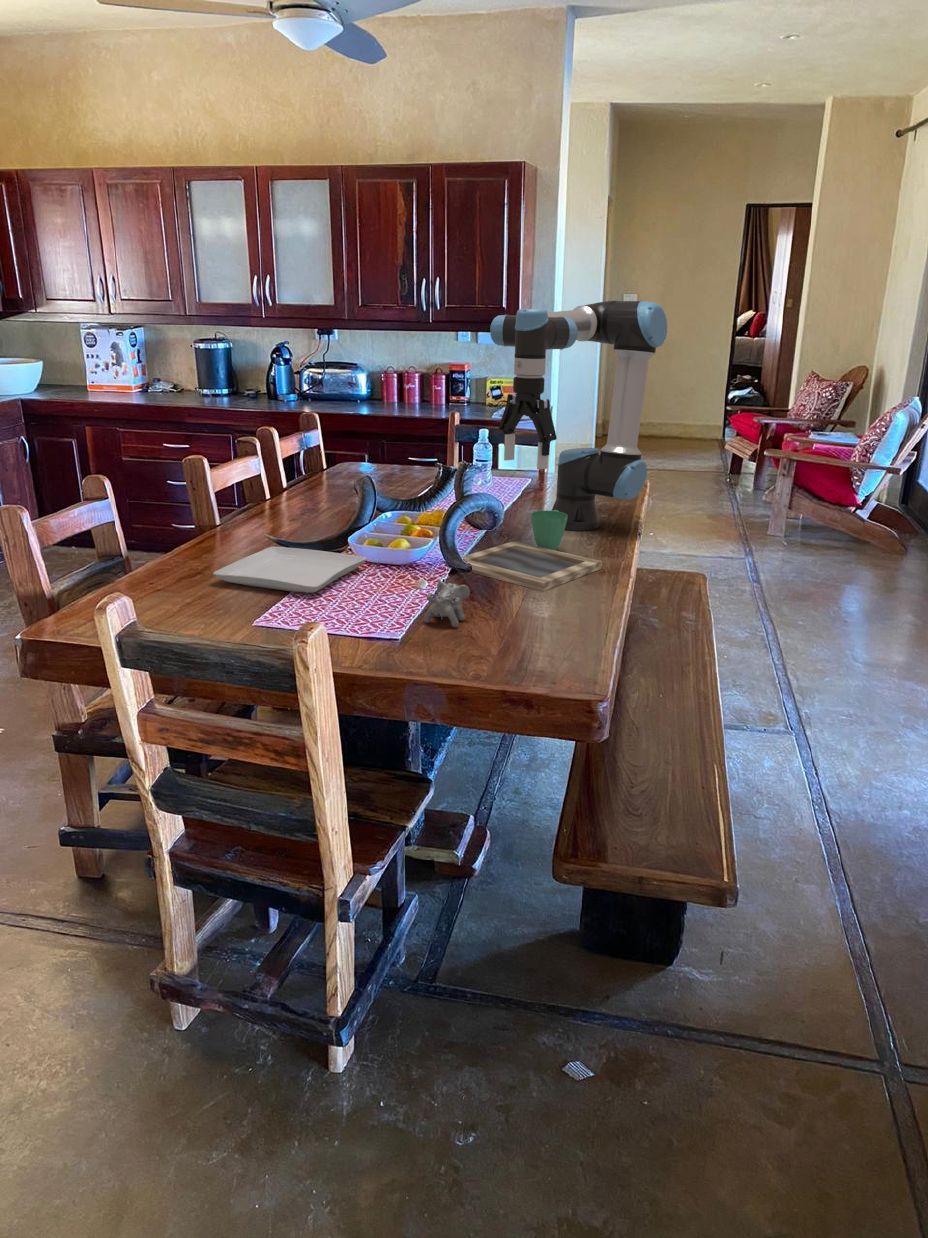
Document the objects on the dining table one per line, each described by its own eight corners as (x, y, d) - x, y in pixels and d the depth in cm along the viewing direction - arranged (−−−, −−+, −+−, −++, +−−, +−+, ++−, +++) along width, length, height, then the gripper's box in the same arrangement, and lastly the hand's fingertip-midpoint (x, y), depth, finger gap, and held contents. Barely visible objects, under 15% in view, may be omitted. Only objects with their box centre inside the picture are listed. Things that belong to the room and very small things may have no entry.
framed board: (513, 548, 245) (513, 541, 244) (601, 568, 228) (602, 561, 227) (451, 567, 226) (452, 559, 225) (543, 591, 209) (543, 583, 208)
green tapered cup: (561, 556, 238) (564, 520, 234) (525, 553, 240) (527, 516, 237) (570, 543, 251) (573, 508, 248) (536, 540, 253) (538, 505, 250)
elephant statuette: (422, 628, 184) (423, 594, 181) (427, 606, 195) (428, 573, 192) (467, 631, 184) (468, 596, 181) (469, 609, 195) (471, 576, 192)
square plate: (368, 570, 223) (368, 555, 221) (316, 602, 198) (316, 585, 197) (272, 557, 231) (272, 543, 229) (211, 587, 206) (210, 570, 205)
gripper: (486, 372, 223) (484, 457, 231) (549, 381, 204) (544, 474, 211) (510, 371, 227) (507, 455, 235) (574, 380, 208) (569, 471, 215)
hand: (525, 464), depth 223 cm, fingers open, 13 cm apart
